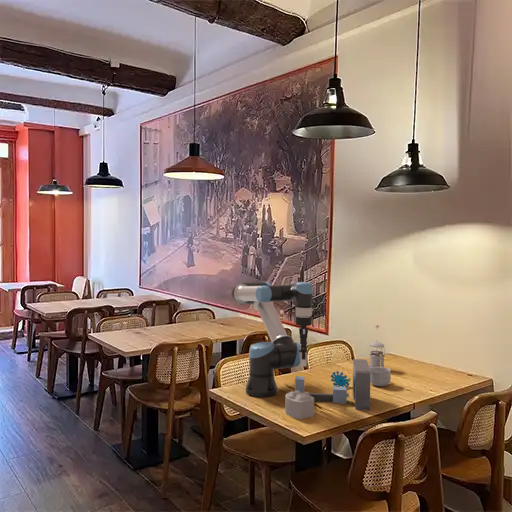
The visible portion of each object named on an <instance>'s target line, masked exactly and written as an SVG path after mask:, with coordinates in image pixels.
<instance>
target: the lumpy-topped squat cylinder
mask: <svg viewBox="0 0 512 512" xmlns="http://www.w3.org/2000/svg"><path fill="white" fill-rule="evenodd" d="M309 393H310V392H308V391H304V392H302V393H300V391H298V390H296V391H295V390H294V391H293V390H292V391H289V392H287V393H286V394H285V397H284V398H285V402H284V403H285V404H284V405H285V406H284V408H285V409H284V411H285V415H287V416H288V415H289V417H290V416H291V418H292V417H293V419H295V418H296V419H295V420H303V418H304V419H307V418H313V417H314V416H315V401H314V397H312V396H310V395H309Z"/></svg>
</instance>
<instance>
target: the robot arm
mask: <svg viewBox="0 0 512 512" xmlns="http://www.w3.org/2000/svg"><path fill="white" fill-rule="evenodd" d="M313 294H314V290H313V283H311V282H309V281H307V282H306V281H297V282H296V284H294V283H285V284H280V285H279V284H278V285H272V283H270V282H269V281H255V282H253V281H252V282H249V281H248V282H240V283H238V284H235V285H234V286H233V287H232V289H231V292H230V295H231V298H232V300H233V302H235V303H237V304H240V305H252V307H253V309H255V310H256V311H258V314H259V316H260V318H261V321H262V323H263V325H264V328H265V330H266V332H267V335H268V337H269V340H271V341H260V342H256V343H254V344H252V345H251V346H249V347H250V348H249V354H248V357H249V359H248V360H249V368H248V369H249V377H248V379H247V382H246V386H245V394H246V393H247V394H246V395H248V394H249V395H248V396H250V395H252V396H251V397H254V396H258V397H257V398H268V397H269V398H270V397H273V396H276V395H277V394H278V386H277V382H276V379H275V376H274V375H275V370H279V369H289V368H294V367H295V368H296V367H299V366H300V367H307V363H308V362H307V357H308V353H307V351H308V350H307V348H308V346H307V345H308V333H309V328H307V327H310V326H312V325H313V317H312V315H313V312H314V309H313ZM288 301H289V302H291V301H293V302H295V319H294V320H295V321H294V322H295V325H296V326H299V328H298V331H299V332H298V333H299V338H300V340H299V342H297V341H295V342H294V339H293V337H292V336H290V335H288V333H287V332H286V328H285V327H284V325H283V323H282V321H281V318H280V316H279V313H278V312H277V310H276V308H275V306H274V302H288Z"/></svg>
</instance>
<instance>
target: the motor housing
mask: <svg viewBox="0 0 512 512" xmlns="http://www.w3.org/2000/svg"><path fill="white" fill-rule="evenodd" d="M370 373H371V370H370V364H369V362H368V360H367V359H364V358H363V359H360V358H357V359H356V358H355V359H352V398H353V399H352V400H354V407H355V410H358V411H370V410H371V382H370Z"/></svg>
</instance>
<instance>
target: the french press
mask: <svg viewBox="0 0 512 512" xmlns="http://www.w3.org/2000/svg"><path fill="white" fill-rule="evenodd" d="M375 328H376V329H378V328H380V326H379V325H378V324H376V325H375ZM369 346H370V347H372V348H379V349H381V348H382V349H383V350H371V351H370V353H369V367H370V368H374V367H384V368H385V354H386V349H385V344H384V343H382V342H378V341H374V342H371V343H369Z"/></svg>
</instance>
